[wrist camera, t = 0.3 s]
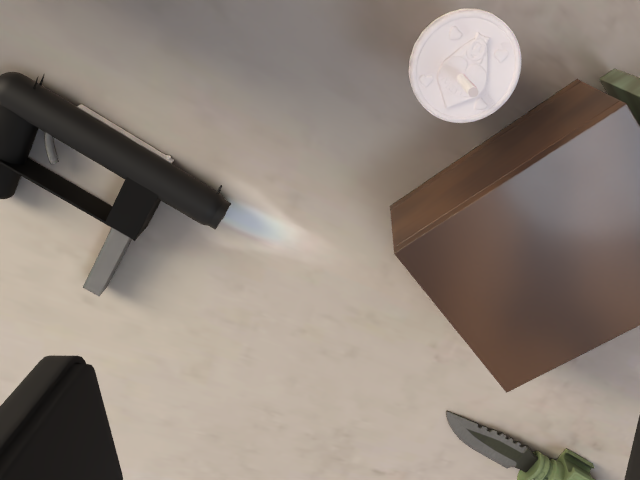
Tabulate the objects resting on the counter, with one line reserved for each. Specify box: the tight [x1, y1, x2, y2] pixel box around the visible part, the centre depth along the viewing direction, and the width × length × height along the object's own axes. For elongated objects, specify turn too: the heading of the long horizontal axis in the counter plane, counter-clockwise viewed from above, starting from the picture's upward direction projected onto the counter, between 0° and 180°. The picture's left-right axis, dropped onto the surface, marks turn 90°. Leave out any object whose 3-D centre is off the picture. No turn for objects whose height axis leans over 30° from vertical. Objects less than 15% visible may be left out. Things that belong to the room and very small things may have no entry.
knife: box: [447, 411, 595, 480], centre depth 55 cm, size 4×18×5 cm
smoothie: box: [409, 9, 521, 123], centre depth 35 cm, size 6×6×14 cm
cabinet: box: [390, 79, 640, 392], centre depth 42 cm, size 17×15×9 cm
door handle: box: [0, 72, 231, 296], centre depth 47 cm, size 3×20×16 cm
